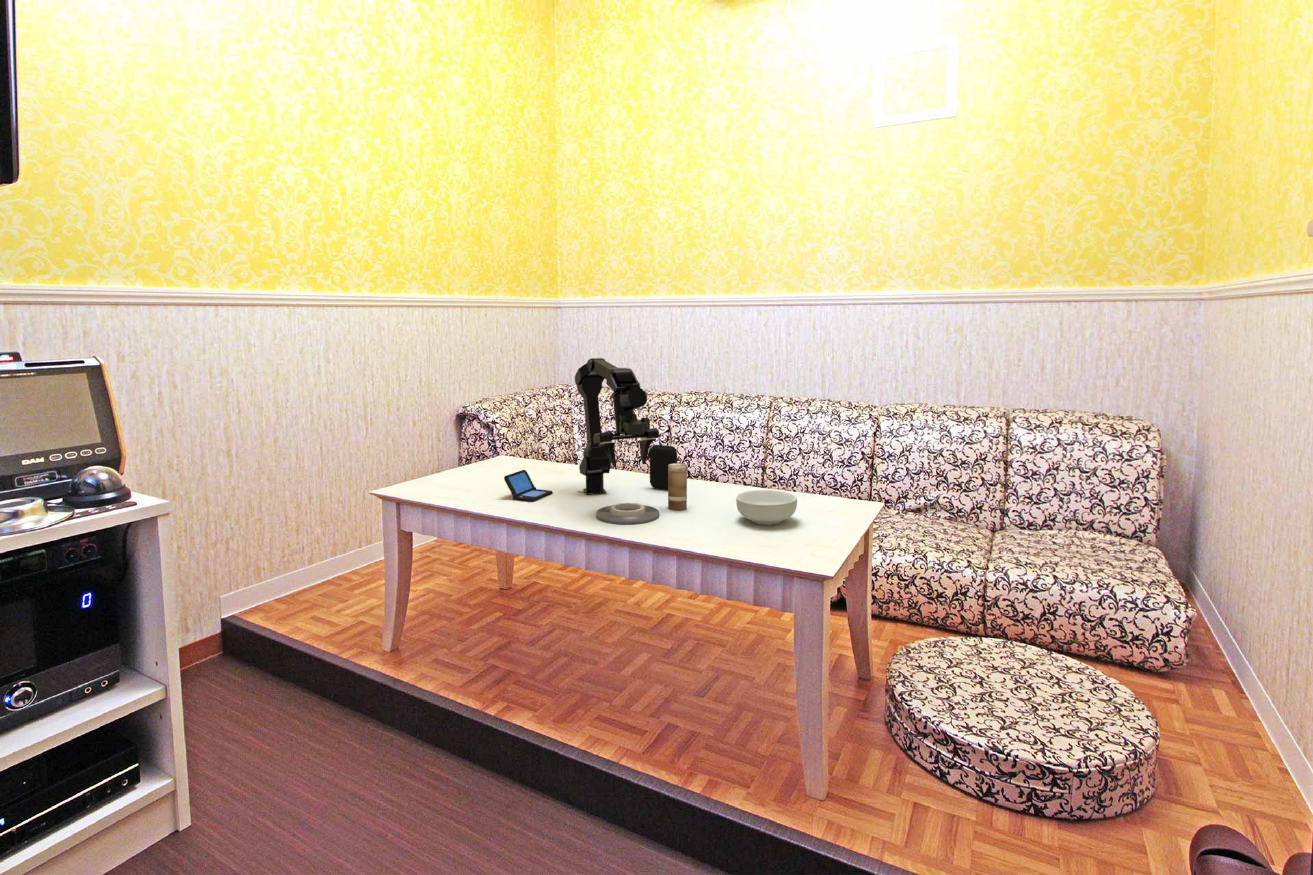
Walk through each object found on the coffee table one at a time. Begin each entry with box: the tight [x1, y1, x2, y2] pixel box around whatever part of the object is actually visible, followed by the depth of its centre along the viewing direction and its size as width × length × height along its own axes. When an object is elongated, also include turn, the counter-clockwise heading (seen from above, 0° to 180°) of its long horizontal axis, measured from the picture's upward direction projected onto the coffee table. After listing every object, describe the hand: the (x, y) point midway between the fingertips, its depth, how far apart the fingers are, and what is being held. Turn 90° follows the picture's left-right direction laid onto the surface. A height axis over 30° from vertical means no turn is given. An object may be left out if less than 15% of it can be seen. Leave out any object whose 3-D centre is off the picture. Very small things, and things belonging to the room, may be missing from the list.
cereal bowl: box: [735, 489, 798, 526], centre depth 201 cm, size 17×17×7 cm
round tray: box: [595, 502, 660, 526], centre depth 206 cm, size 18×18×2 cm
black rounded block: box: [647, 444, 678, 491], centre depth 237 cm, size 11×3×15 cm, turn 62°
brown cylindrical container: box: [667, 463, 688, 512], centre depth 214 cm, size 6×6×13 cm
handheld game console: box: [503, 469, 553, 503], centre depth 228 cm, size 12×11×7 cm
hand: (629, 465), depth 208 cm, fingers open, 9 cm apart
